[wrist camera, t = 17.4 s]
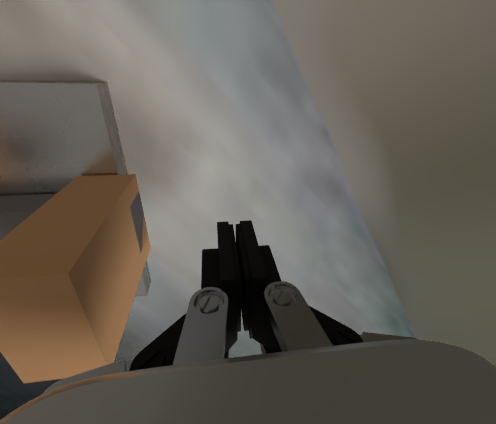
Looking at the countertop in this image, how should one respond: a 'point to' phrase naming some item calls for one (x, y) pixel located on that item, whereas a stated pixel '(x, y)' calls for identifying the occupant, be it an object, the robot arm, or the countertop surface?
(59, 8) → the countertop surface
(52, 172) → the vise base
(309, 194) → the countertop surface
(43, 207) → the sliding jaw
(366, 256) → the countertop surface
